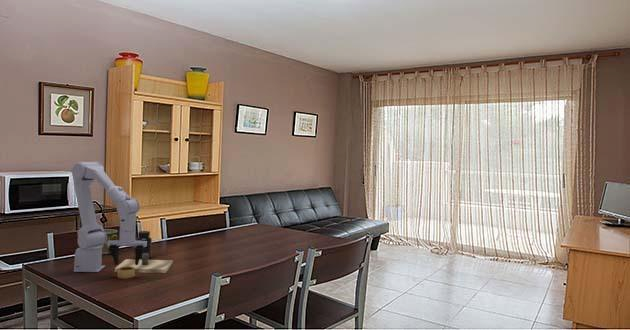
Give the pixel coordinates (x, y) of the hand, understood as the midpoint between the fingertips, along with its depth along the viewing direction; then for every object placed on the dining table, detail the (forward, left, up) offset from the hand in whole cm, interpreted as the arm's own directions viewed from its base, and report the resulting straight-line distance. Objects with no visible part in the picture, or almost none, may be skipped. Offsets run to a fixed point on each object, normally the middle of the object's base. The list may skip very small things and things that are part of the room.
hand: (126, 264), depth 173 cm
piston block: (+4, +12, -5) cm, 14 cm away
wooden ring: (0, 0, -5) cm, 5 cm away
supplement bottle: (-1, +28, -5) cm, 29 cm away
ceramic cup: (-19, +35, -5) cm, 40 cm away
